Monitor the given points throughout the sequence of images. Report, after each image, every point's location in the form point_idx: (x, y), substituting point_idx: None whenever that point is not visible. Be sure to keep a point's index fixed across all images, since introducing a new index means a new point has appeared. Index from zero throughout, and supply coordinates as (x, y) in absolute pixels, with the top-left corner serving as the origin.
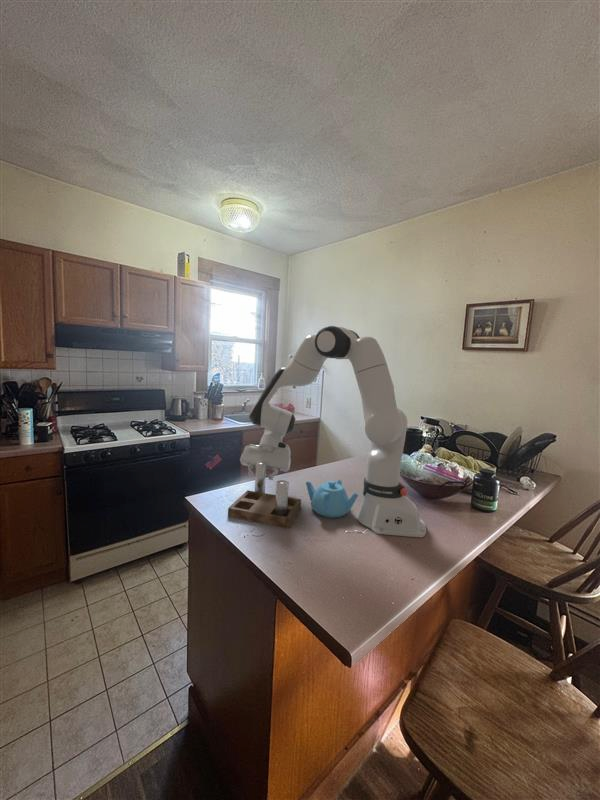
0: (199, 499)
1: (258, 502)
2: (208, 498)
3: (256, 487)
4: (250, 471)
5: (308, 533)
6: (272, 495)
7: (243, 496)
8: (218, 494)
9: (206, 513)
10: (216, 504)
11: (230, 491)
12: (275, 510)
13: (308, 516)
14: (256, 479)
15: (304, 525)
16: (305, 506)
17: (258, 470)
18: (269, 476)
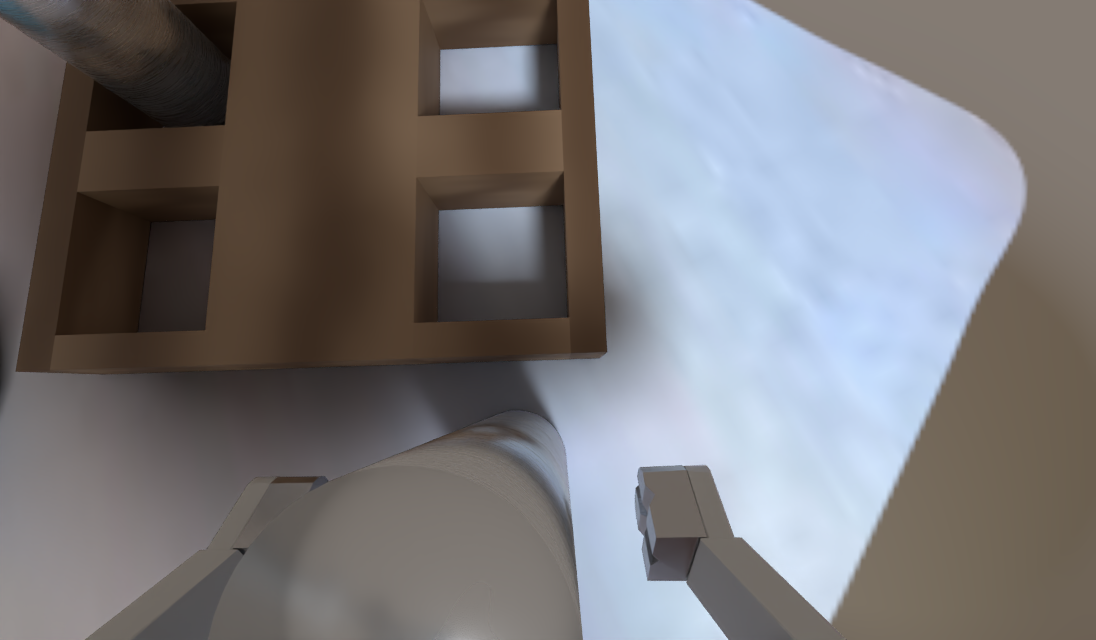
0: (947, 167)
1: (393, 141)
2: (895, 213)
3: (527, 419)
4: (687, 521)
5: (18, 35)
6: (315, 339)
7: (575, 198)
8: (873, 320)
9: (743, 3)
10: (765, 145)
11: (815, 431)
12: (187, 18)
13: (30, 246)
14: (526, 431)
15: (50, 114)
16: (66, 407)
17: (466, 441)
18: (294, 491)
